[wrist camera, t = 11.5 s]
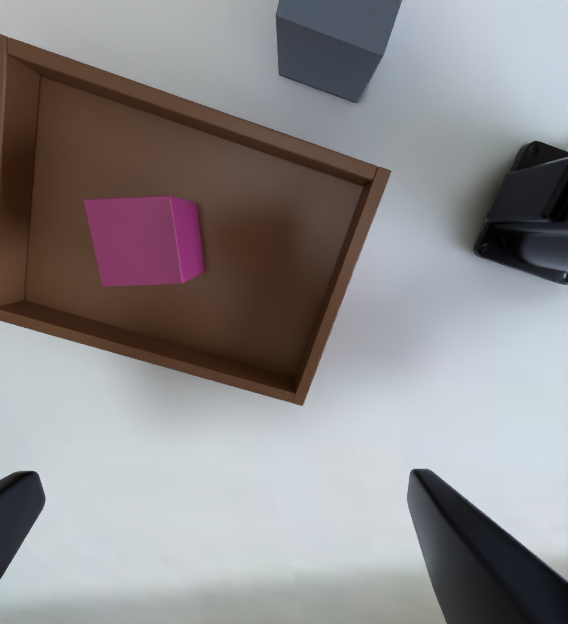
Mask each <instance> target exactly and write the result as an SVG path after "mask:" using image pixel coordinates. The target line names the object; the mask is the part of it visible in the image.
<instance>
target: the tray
mask: <svg viewBox="0 0 568 624" xmlns="http://www.w3.org/2000/svg"><path fill="white" fill-rule="evenodd" d="M390 173H391V171H390V170H387V169H385V168H382V167H377V166H375V165H373V164H370V163H367V162H364V161H361V160H358V159H355V158H353V157H350V156H347V155H344V154H341V153H338V152H335V151H333V150H330V149H327V148H324V147H321V146H318V145H315V144H313V143H310V142H307V141H304V140H301V139H298V138H295V137H293V136H290V135H287V134H284V133H281V132H278V131H275V130H273V129H270V128H267V127H264V126H261V125H258V124H255V123H253V122H250V121H247V120H244V119H241V118H238V117H235V116H233V115H230V114H227V113H224V112H221V111H218V110H215V109H213V108H210V107H207V106H204V105H201V104H198V103H195V102H193V101H190V100H187V99H184V98H181V97H178V96H175V95H173V94H170V93H167V92H164V91H161V90H158V89H155V88H153V87H150V86H147V85H144V84H141V83H138V82H135V81H133V80H130V79H127V78H124V77H121V76H118V75H115V74H113V73H110V72H107V71H104V70H101V69H98V68H95V67H93V66H90V65H87V64H84V63H81V62H78V61H75V60H73V59H70V58H67V57H64V56H61V55H58V54H55V53H53V52H50V51H47V50H44V49H41V48H38V47H35V46H33V45H30V44H27V43H24V42H21V41H18V40H15V39H13V38H8V37H7V36H4V35H1V34H0V321H3V322H7V323H10V324H14V325H17V326H21V327H24V328H28V329H31V330H35V331H39V332H42V333H46V334H49V335H53V336H56V337H60V338H63V339H67V340H71V341H74V342H78V343H81V344H85V345H88V346H92V347H95V348H99V349H102V350H106V351H110V352H113V353H117V354H120V355H124V356H127V357H131V358H134V359H138V360H142V361H145V362H149V363H152V364H156V365H159V366H163V367H166V368H170V369H173V370H177V371H181V372H184V373H188V374H191V375H195V376H198V377H202V378H205V379H209V380H213V381H216V382H220V383H223V384H227V385H230V386H234V387H237V388H241V389H244V390H248V391H252V392H255V393H259V394H262V395H266V396H269V397H273V398H276V399H280V400H284V401H287V402H291V403H294V404H297V405H301V406H303V404H304V401H305V398H306V396H307V393H308V391H309V388H310V385H311V383H312V380H313V377H314V375H315V372H316V369H317V367H318V364H319V361H320V359H321V356H322V353H323V351H324V348H325V346H326V343H327V340H328V338H329V335H330V332H331V330H332V327H333V324H334V322H335V319H336V316H337V314H338V311H339V308H340V306H341V303H342V300H343V298H344V295H345V293H346V290H347V287H348V285H349V282H350V279H351V277H352V274H353V271H354V269H355V266H356V263H357V261H358V258H359V255H360V253H361V250H362V248H363V245H364V242H365V240H366V237H367V234H368V232H369V229H370V226H371V224H372V221H373V218H374V216H375V213H376V210H377V208H378V205H379V203H380V200H381V197H382V195H383V192H384V189H385V187H386V184H387V181H388V179H389V176H390ZM161 195H171V196H174V197H178V198H181V199H184V200H188V201H191V202H194V203H197V209H198V218H199V226H200V235H201V243H202V252H203V260H204V269H205V272H203V273H201V274H199V275H197V276H195V277H193V278H191V279H189V280H187V281H186V282H184V283H177V284H154V285H131V286H107V287H103V286H102V285H101V280H100V275H99V271H98V266H97V261H96V257H95V252H94V247H93V243H92V238H91V233H90V229H89V224H88V219H87V215H86V210H85V205H84V200H85V199H101V198H121V197H141V196H161Z"/></svg>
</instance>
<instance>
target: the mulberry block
mask: <svg viewBox="0 0 568 624" xmlns="http://www.w3.org/2000/svg"><path fill="white" fill-rule="evenodd" d="M84 205H85V210H86V215H87V219H88V224H89V229H90V233H91V238H92V243H93V247H94V252H95V257H96V261H97V266H98V271H99V275H100V280H101V285H102V286H103V287H107V286H131V285H154V284H177V283H184V282H186V281H187V280H189V279H191V278H193V277H195V276H197V275H199V274H201V273H203V272H205V269H204V260H203V252H202V243H201V235H200V226H199V218H198V209H197V203H194V202H191V201H188V200H184V199H181V198H178V197H174V196H171V195H161V196H141V197H121V198H101V199H85V200H84Z"/></svg>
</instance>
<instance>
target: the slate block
mask: <svg viewBox="0 0 568 624" xmlns="http://www.w3.org/2000/svg"><path fill="white" fill-rule="evenodd" d="M401 2H402V0H279V4H278V8H277V12H276V28H277V47H278V66H279V75H282V76H285V77H288V78H290V79H293V80H296V81H299V82H301V83H304V84H307V85H310V86H312V87H315V88H318V89H321V90H323V91H326V92H329V93H332V94H334V95H337V96H340V97H342V98H345V99H348V100H351V101H353V102H356V103H357V102H358V101H359V99H360V97H361V95H362V93H363V92H364V90H365V88H366V86H367V84H368V83H369V81H370V79H371V77H372V75H373V73H374V72H375V70H376V68H377V66H378V64H379V63H380V61H381V59H382V57H383V55H384V52H385V49H386V46H387V43H388V40H389V37H390V34H391V31H392V28H393V25H394V23H395V20H396V17H397V14H398V11H399V8H400V5H401Z"/></svg>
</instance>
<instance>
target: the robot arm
mask: <svg viewBox="0 0 568 624" xmlns="http://www.w3.org/2000/svg"><path fill="white" fill-rule="evenodd" d="M530 149H533V155H532V156H531V155H530V153H529V152H530ZM483 246H486V250H485V252H482V248H483ZM474 253H475V255H476V256H478V257H481V258H484V259H487V260H490V261H493V262H496V263H499V264H502V265H505V266H508V267H511V268H514V269H517V270H520V271H522V272H525V273H528V274H531V275H534V276H537V277H540V278H543V279H546V280H549V281H552V282H555V283H559V284H564V285H568V152H566V151H564V150H561V149H558V148H556V147H553V146H550V145H548V144H545V143H542V142H539V141H534V142H531V143H528V144H526V145H524V146H523V147H522V149H521V150H520V152H519V154H518V156H517V158H516V161H515V163H514V165H513V167H512V169H511V171H510V173H509V174H507V175H506V177H505V179H504V181H503V183H502V186H501V188H500V190H499V192H498V194H497V196H496V198H495V200H494V202H493V204H492V207H491V209H490V211H489V213H488V215H487V221H486V223H485V225H484V227H483V229H482V232H481V234H480V236H479V238H478V240H477V242H476V244H475V246H474ZM565 274H566V277H565V278H564V275H565ZM407 501H408V507H409V510H410V514H411V517H412V520H413V524H414V527H415V530H416V534H417V537H418V540H419V544H420V547H421V550H422V554H423V557H424V560H425V563H426V567H427V570H428V573H429V577H430V580H431V583H432V586H433V589H434V591H435V594H436V597H437V599H438V602H439V605H440V607H441V610H442V612H443V615H444V617H445V620H446V622H447V624H568V581H567V580H566V579H564V578H563V577H562V576H561V575H559V574H558V573H557V572H556V571H554V570H553V569H552V568H551V567H550V566H548V565H547V564H546V563H545V562H543V561H542V560H541V559H540V558H538V557H537V556H536V555H535V554H534V553H532V552H531V551H530V550H529V549H527V548H526V547H525V546H524V545H522V544H521V543H520V542H519V541H518V540H516V539H515V538H514V537H513V536H511V535H510V534H509V533H508V532H506V531H505V530H504V529H503V528H501V527H500V526H499V525H498V524H497V523H495V522H494V521H493V520H492V519H490V518H489V517H488V516H487V515H485V514H484V513H483V512H482V511H481V510H479V509H478V508H477V507H476V506H474V505H473V504H472V503H471V502H469V501H468V500H467V499H466V498H465V497H463V496H462V495H461V494H460V493H458V492H457V491H456V490H455V489H453V488H452V487H451V486H450V485H448V484H447V483H446V482H445V481H444V480H442V479H441V478H440V477H439V476H437V475H436V474H435V473H434V472H432V471H431V470H429V469H413V470H411V472H410V476H409V485H408V494H407ZM44 504H45V493H44V490H43V487H42V484H41V480H40V477H39V475H38V473H37V472H35V471H18V472H15V473H12V474H11V475H9V476H7V477H5V478H3V479H1V480H0V579H1V577H2V576H3V574H4V573H5V571H6V569H7V568H8V566H9V564H10V563H11V561H12V559H13V558H14V556H15V554H16V553H17V551H18V549H19V548H20V546H21V544H22V543H23V541H24V539H25V538H26V536H27V534H28V533H29V531H30V529H31V528H32V526H33V524H34V523H35V521H36V519H37V518H38V516H39V514H40V513H41V511H42V509H43V507H44Z"/></svg>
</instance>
